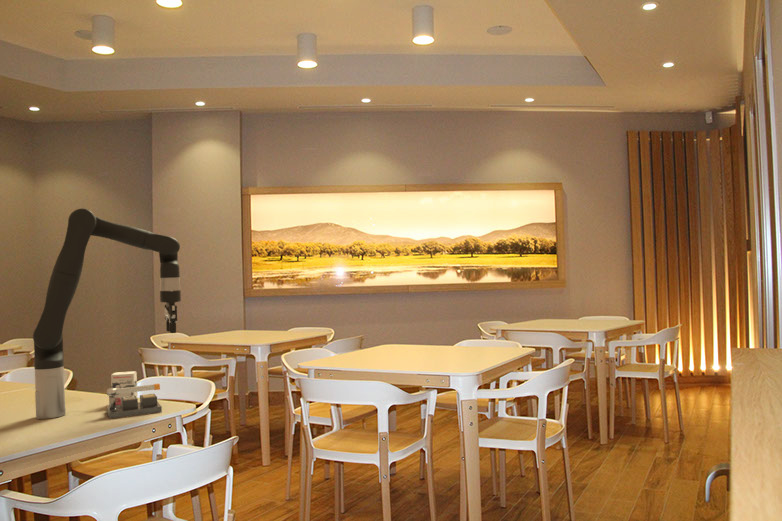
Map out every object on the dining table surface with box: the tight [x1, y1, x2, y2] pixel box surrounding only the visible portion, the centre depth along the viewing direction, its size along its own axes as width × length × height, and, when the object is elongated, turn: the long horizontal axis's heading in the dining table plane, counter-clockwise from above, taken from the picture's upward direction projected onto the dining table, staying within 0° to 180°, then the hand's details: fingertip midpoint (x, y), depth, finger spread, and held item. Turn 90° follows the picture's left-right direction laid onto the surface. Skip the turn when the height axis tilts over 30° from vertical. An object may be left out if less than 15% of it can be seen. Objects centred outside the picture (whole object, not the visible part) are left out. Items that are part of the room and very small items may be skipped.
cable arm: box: [106, 383, 161, 397], centre depth 238 cm, size 18×3×2 cm, turn 116°
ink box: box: [110, 370, 139, 405], centre depth 256 cm, size 8×5×12 cm, turn 98°
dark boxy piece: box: [106, 393, 163, 420], centre depth 238 cm, size 17×14×7 cm
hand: (171, 332), depth 256 cm, fingers open, 8 cm apart
